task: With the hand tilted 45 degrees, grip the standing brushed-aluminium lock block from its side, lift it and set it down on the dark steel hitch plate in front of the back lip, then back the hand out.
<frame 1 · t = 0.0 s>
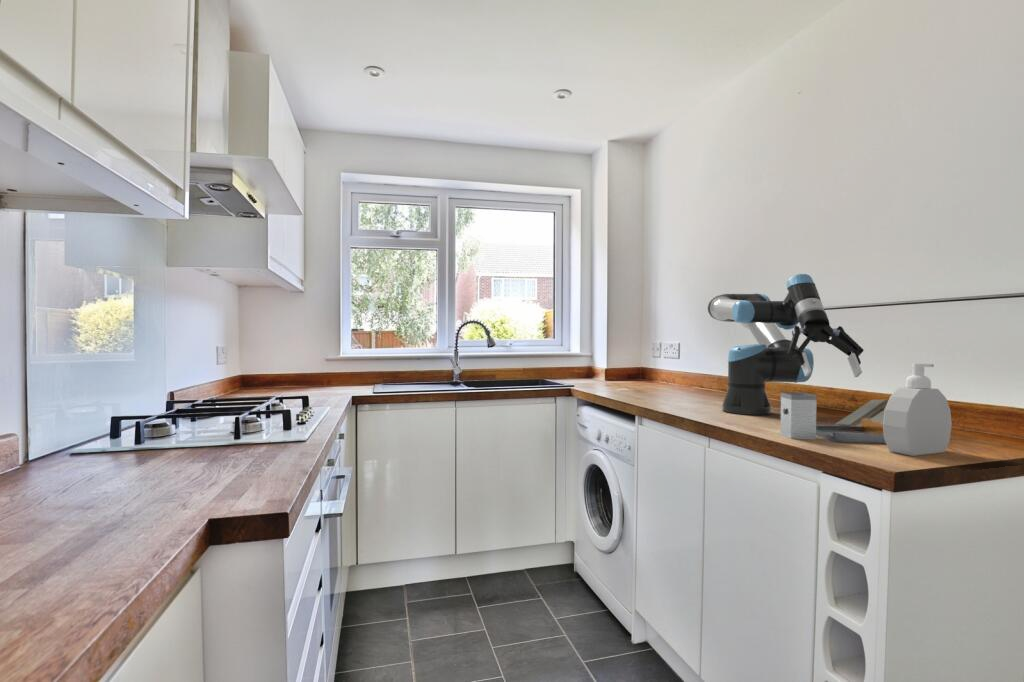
hand: (833, 374, 142), 15 cm above the table, tool tilted 35°, fingers open, 13 cm apart
gray slanted bracket: (875, 429, 142), on the table
hitch plate: (851, 438, 127), on the table
lock block: (797, 436, 128), on the table
soap bottle: (917, 453, 112), on the table
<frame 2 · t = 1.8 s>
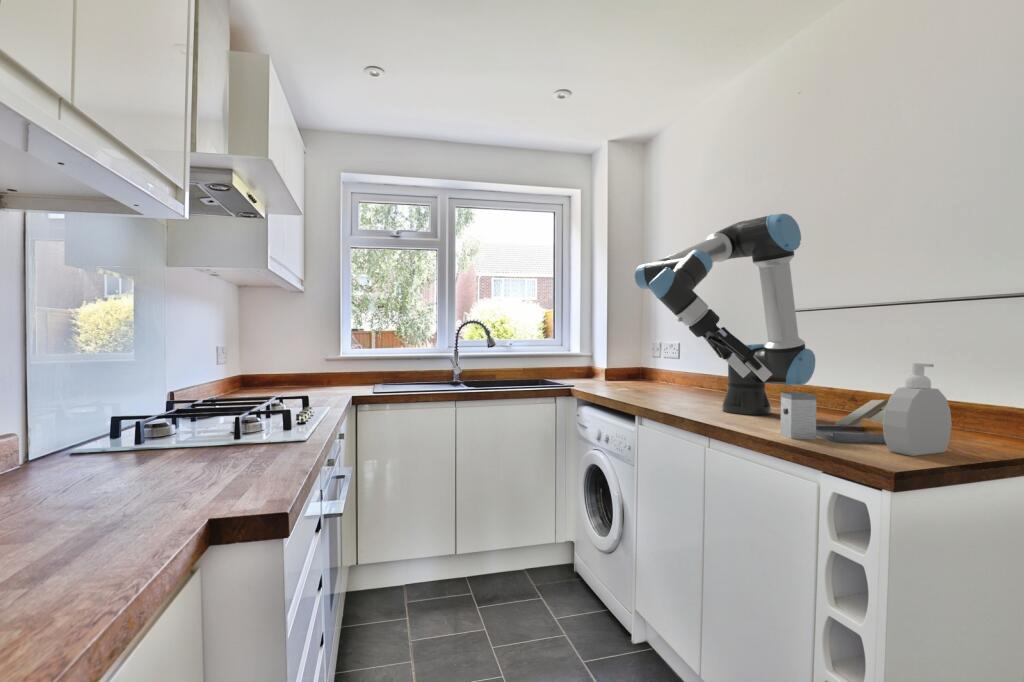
hand: (756, 376, 129), 15 cm above the table, tool tilted 45°, fingers open, 13 cm apart
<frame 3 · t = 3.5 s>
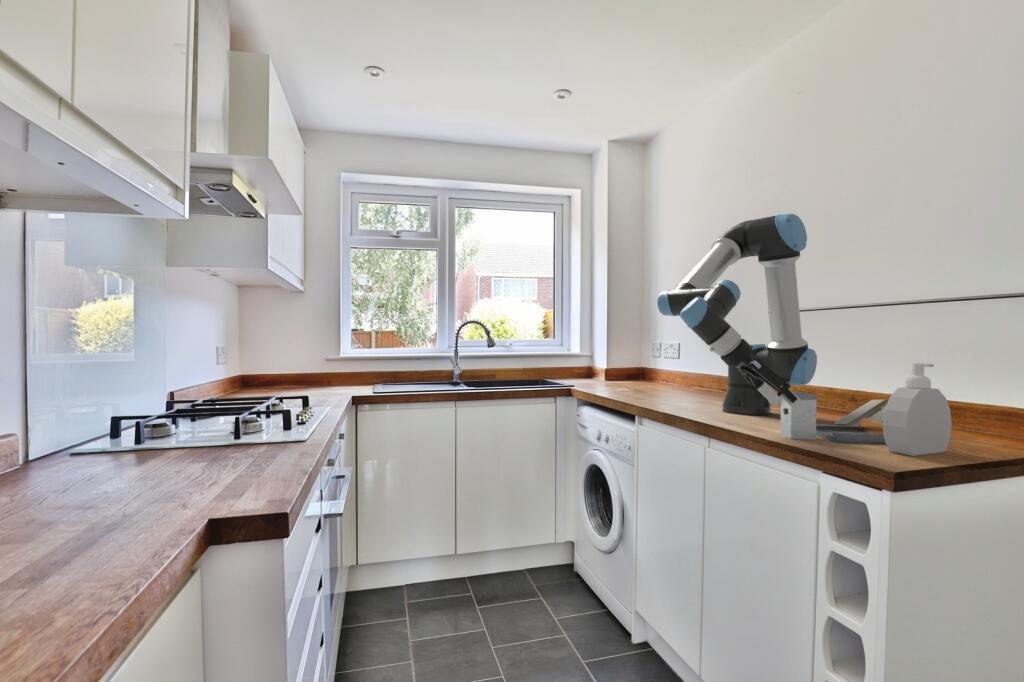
hand: (790, 406, 128), 8 cm above the table, tool tilted 45°, fingers open, 13 cm apart
nothing on the table moved.
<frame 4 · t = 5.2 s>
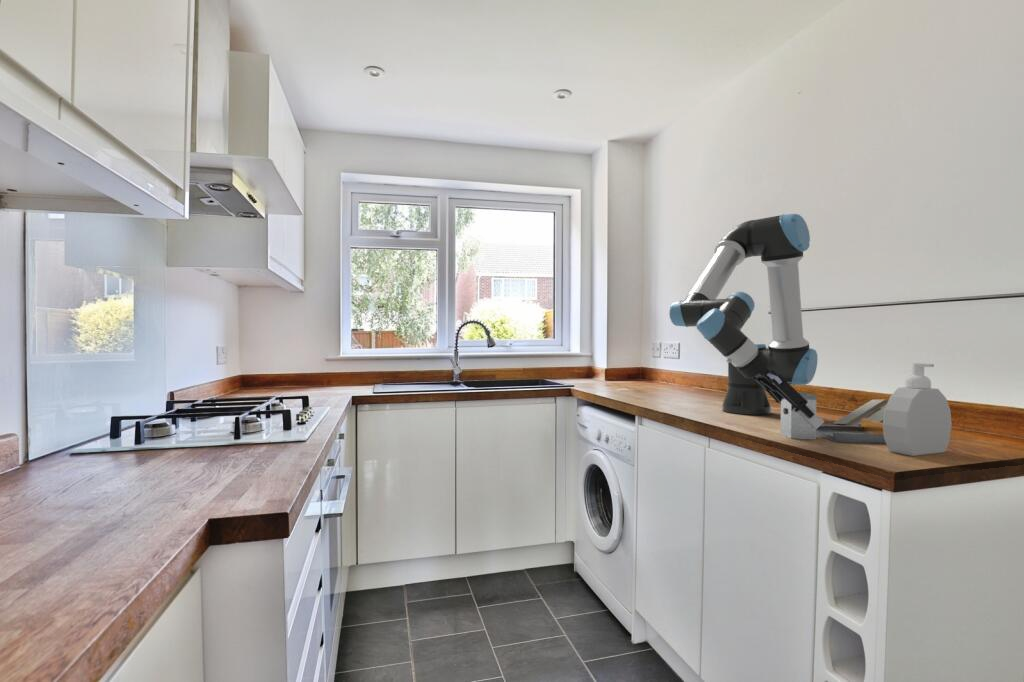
hand: (812, 422, 128), 4 cm above the table, tool tilted 45°, fingers closed on lock block, 6 cm apart
lock block: (797, 436, 128), on the table, touching gripper
everything else where it was.
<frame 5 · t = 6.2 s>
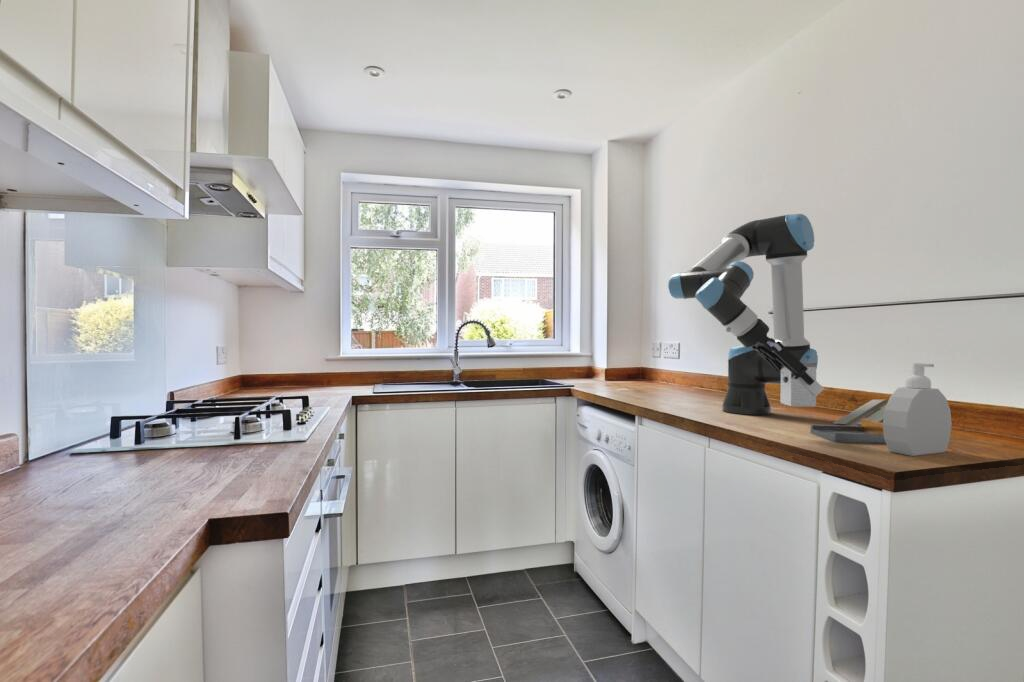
hand: (812, 390, 128), 12 cm above the table, tool tilted 45°, fingers closed on lock block, 6 cm apart
lock block: (797, 404, 128), point 8 cm above the table, touching gripper
everything else where it was.
when the fingers open (6 cm above the table, at t = 9.9 s): lock block drops 1 cm, resting on hitch plate.
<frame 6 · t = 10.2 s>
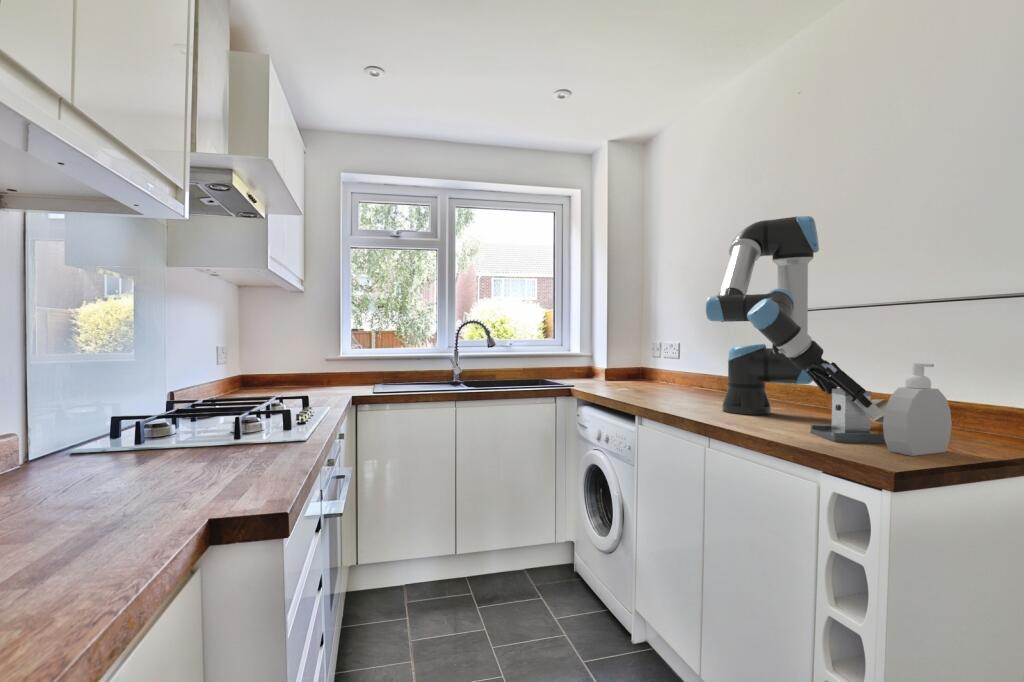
hand: (864, 412, 127), 7 cm above the table, tool tilted 45°, fingers open, 9 cm apart
lock block: (850, 433, 127), point 1 cm above the table, touching hitch plate
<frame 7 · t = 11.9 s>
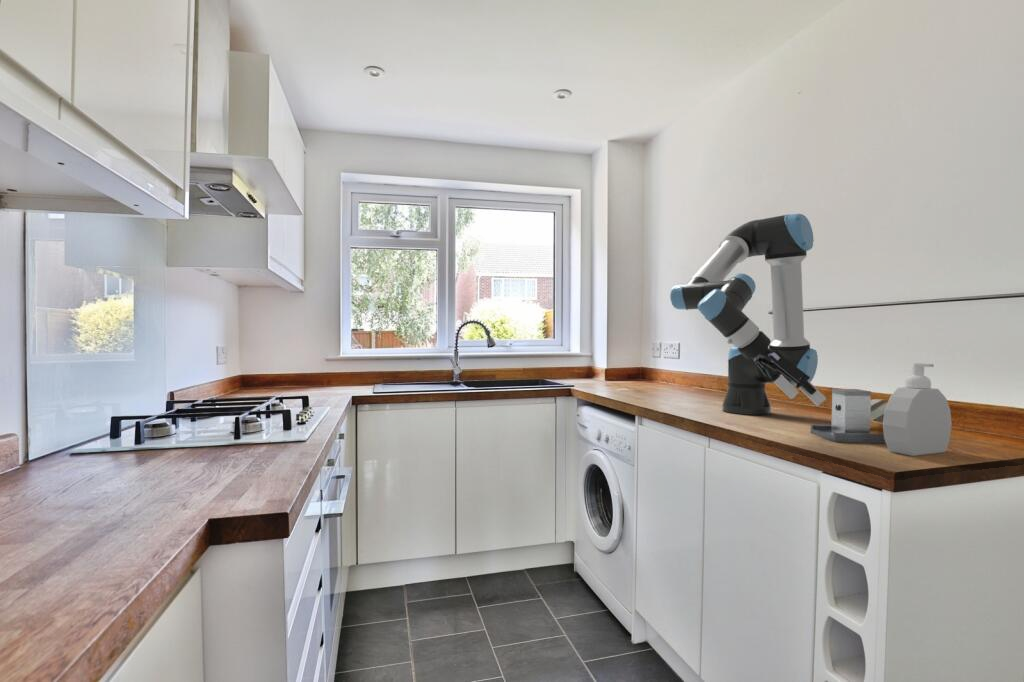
hand: (807, 398, 128), 10 cm above the table, tool tilted 45°, fingers open, 13 cm apart
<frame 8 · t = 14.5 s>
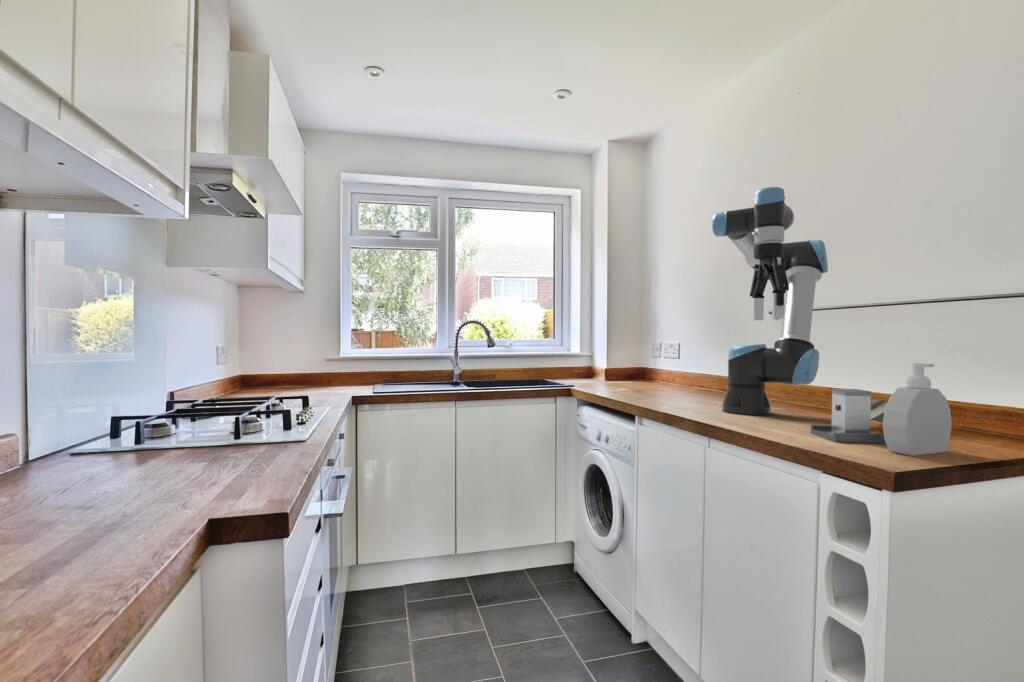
hand: (767, 319, 140), 31 cm above the table, tool pointing down, fingers open, 13 cm apart
at the end: lock block inside the target area on the hitch plate (0.2 cm from its centre), point 1.2 cm above the hitch plate's base; lock block tilted 0°; the gripper is holding nothing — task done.
